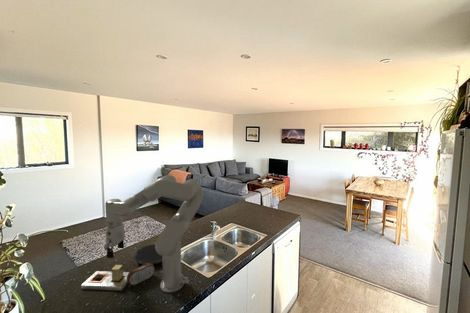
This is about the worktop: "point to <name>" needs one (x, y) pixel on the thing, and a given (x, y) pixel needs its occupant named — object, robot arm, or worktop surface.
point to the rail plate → (104, 281)
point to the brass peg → (117, 273)
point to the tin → (140, 274)
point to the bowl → (148, 255)
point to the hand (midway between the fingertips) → (115, 252)
